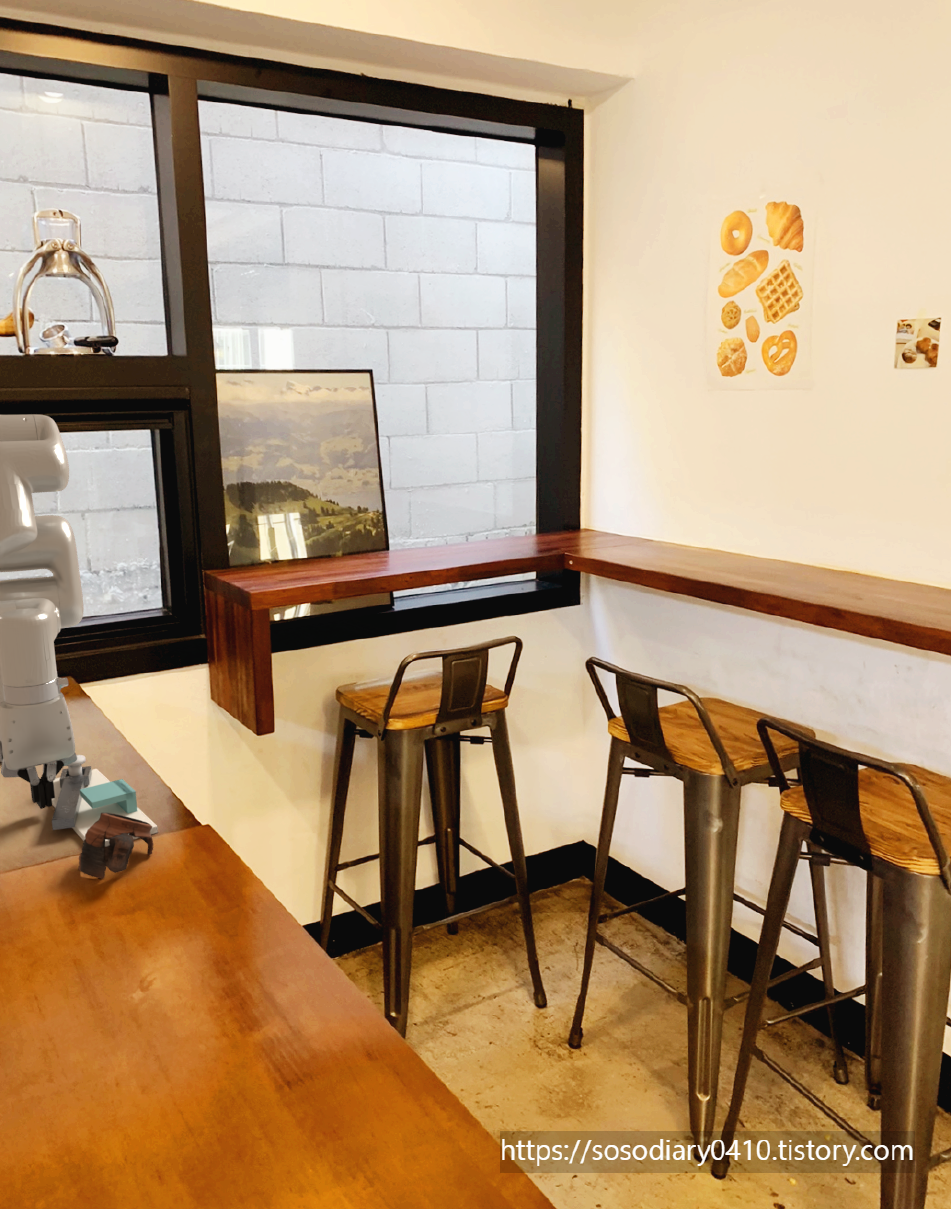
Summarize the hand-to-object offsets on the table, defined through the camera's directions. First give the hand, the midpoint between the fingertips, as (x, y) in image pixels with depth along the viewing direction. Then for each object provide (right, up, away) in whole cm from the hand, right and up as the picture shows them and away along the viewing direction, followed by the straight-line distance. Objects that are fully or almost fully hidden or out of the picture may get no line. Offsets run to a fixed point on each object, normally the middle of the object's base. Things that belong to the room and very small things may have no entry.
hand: (44, 804), depth 146 cm
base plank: (+7, -1, +3) cm, 7 cm away
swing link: (+3, 0, +3) cm, 4 cm away
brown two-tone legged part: (+17, -6, -15) cm, 23 cm away
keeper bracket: (+10, -1, 0) cm, 10 cm away
